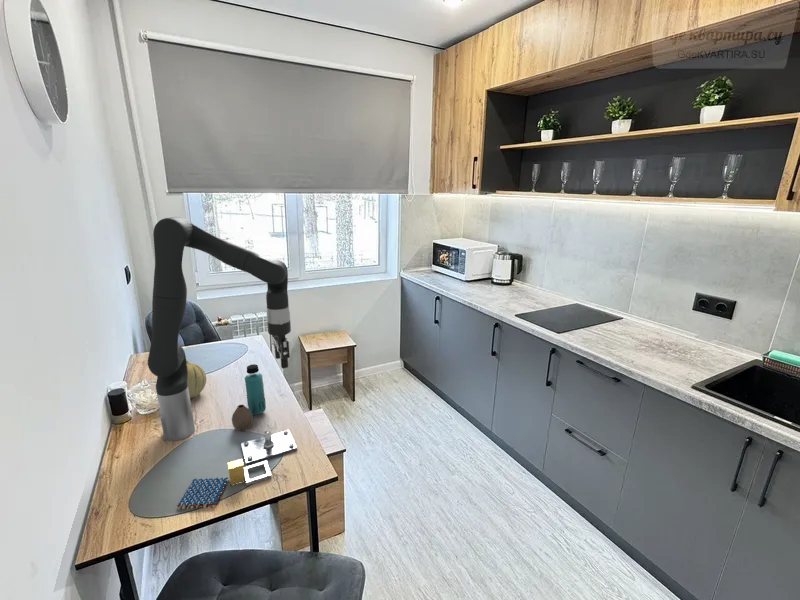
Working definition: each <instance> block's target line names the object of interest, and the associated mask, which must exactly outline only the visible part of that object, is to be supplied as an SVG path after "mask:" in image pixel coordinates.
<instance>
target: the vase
mask: <svg viewBox="0 0 800 600" xmlns="http://www.w3.org/2000/svg"><path fill="white" fill-rule="evenodd" d="M253 419H254V418H253V414H252V413H251V411H250V410H249V409H248V407H247V406H245V405H244V404H238V405H237V407H236V409H235V411H233V413H232V417H231V424H232V426H233V428H234V429H236V431H240V432H243V431H246V430H248V429H249V428H250V427H252V424H253Z"/></svg>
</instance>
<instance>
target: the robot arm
mask: <svg viewBox="0 0 800 600" xmlns="http://www.w3.org/2000/svg"><path fill="white" fill-rule="evenodd" d="M153 228H154V229H153V235H152V236H153V245H154V246H153V249H154V271H153V272H154V273H153V274H154V275H153V288H152V300H151V301H152V303H151V304H152V305H151V306H152V307H151V309H152V310H151V312H152V313H151V342H150V347H149V351H148V357H147V366H148V367H147V368H148V369H149V371H150V373H151V374H153V375H154V376H156V377H157V379H156V383H155V390H156V397H157V401H158V406H159V412H160V416H159V417H160V421H161V429H162V433H163V438H164V441H165V442H167V441H174V442H175V441H180V440H183V439H186V438H189V436H191V435H192V434H193V433H194V432H195V431H196V430H195V429H196V428H195V427H196V426H195V422H194V421H195V420H194V415H193V408H192V403H191V402H192V401H191V398H190V395H189V389H188V383H187V379H188V370H187V362H186V360H187V356H186V352H185V350H184V348H183V347H182V346H181V345H180V344H179V335H180V331H181V328H182V324H183V322H184V318H185V317H184V316H185V313H186V308H187V307H186V306H187V299H188V298H187V296H188V295H187V294H188V288H187V283H186V279H185V276H184V272H183V271H184V270H183V257H184V249H185V247H188V248H192V249H195V250H198V251H201V252H203V253H206V254H208V255H210V256H212V257H213V258H215V259H216V260H218V261H220V262H221V263H224V264H225V265H227V266H229V267H232V268H234V269H237V270H240V271H241V272H244V273H248V274H250V275H251V276H253V277H255V278H257V279H259V280H260V281H262V282H264V283H266V284H267V291H266V295H265V298H266V301H265V302H266V322H267V323H266V324H267V332H268V335H270V336H271V337H272V338H271V339H272V346H273V349H274V356H275V359H276V360H278V359H280V367H281V369H287V368H289V360H288V359H290V358H291V356H290V354H291V353H290V342H289V340H288V338H287V337H286V336H287V334H290V333H291V330H292V329H291V312H290V307H289V306H290V305H289V295H288V285H289V283H288V278H289V274H288V273H289V272H288V267H287V265H286V263H284V261H282V260H279V259H273V260H271V261H269V260H267V259H265V258H263V257H261V256H260V254H258V253H257V252H255V251H252V250H250V249H247V248H245V247H243V246H241V245H238V244H236V243H233V242H229V241H228V240H224V239H223V238H220V237H218V236H216V235H213V234H211V233H209V232H208V231H207V230H204V229H202V228H201V227H199V226H197V225H195V224H194V223H192V222H190V221H189V220H187V219H185V218H183V217H180V216H171V217H164V218H162V219H160V220H159V221H157V223H155V225H154V227H153ZM284 353H285V354H284Z"/></svg>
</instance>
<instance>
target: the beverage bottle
mask: <svg viewBox="0 0 800 600" xmlns="http://www.w3.org/2000/svg"><path fill="white" fill-rule="evenodd" d="M259 371H260V369H259V365H258V364H249V365H248V366H246V373H247V375H246V376H245V377H244V382H245V391H246V400H247V401H246V404H247V408H248V409H249V410H250V411H251V413H252V415H259V414H262V413H264V412H265V411H266V408H267V402H266V397H265V388H264V387H265V386H264V381H263V379H264V378H263V375H262V373H260V372H259Z"/></svg>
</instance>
